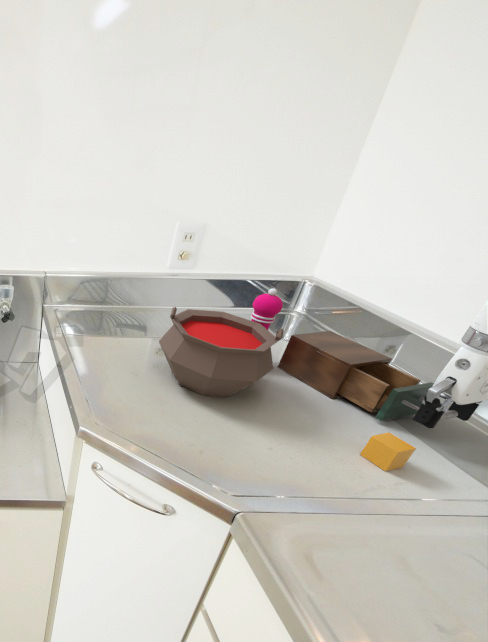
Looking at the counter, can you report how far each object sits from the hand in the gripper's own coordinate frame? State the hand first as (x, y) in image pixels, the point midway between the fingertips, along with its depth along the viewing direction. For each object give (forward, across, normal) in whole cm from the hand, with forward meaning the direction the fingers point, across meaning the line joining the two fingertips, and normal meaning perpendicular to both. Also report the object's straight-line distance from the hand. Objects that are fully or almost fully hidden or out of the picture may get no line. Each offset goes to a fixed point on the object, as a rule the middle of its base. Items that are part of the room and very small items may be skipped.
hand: (439, 420), depth 82 cm
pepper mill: (+4, -13, +33) cm, 36 cm away
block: (+4, -17, -3) cm, 18 cm away
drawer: (+3, 0, +9) cm, 10 cm away
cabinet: (+4, 0, +22) cm, 23 cm away
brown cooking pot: (+4, -30, +28) cm, 42 cm away
